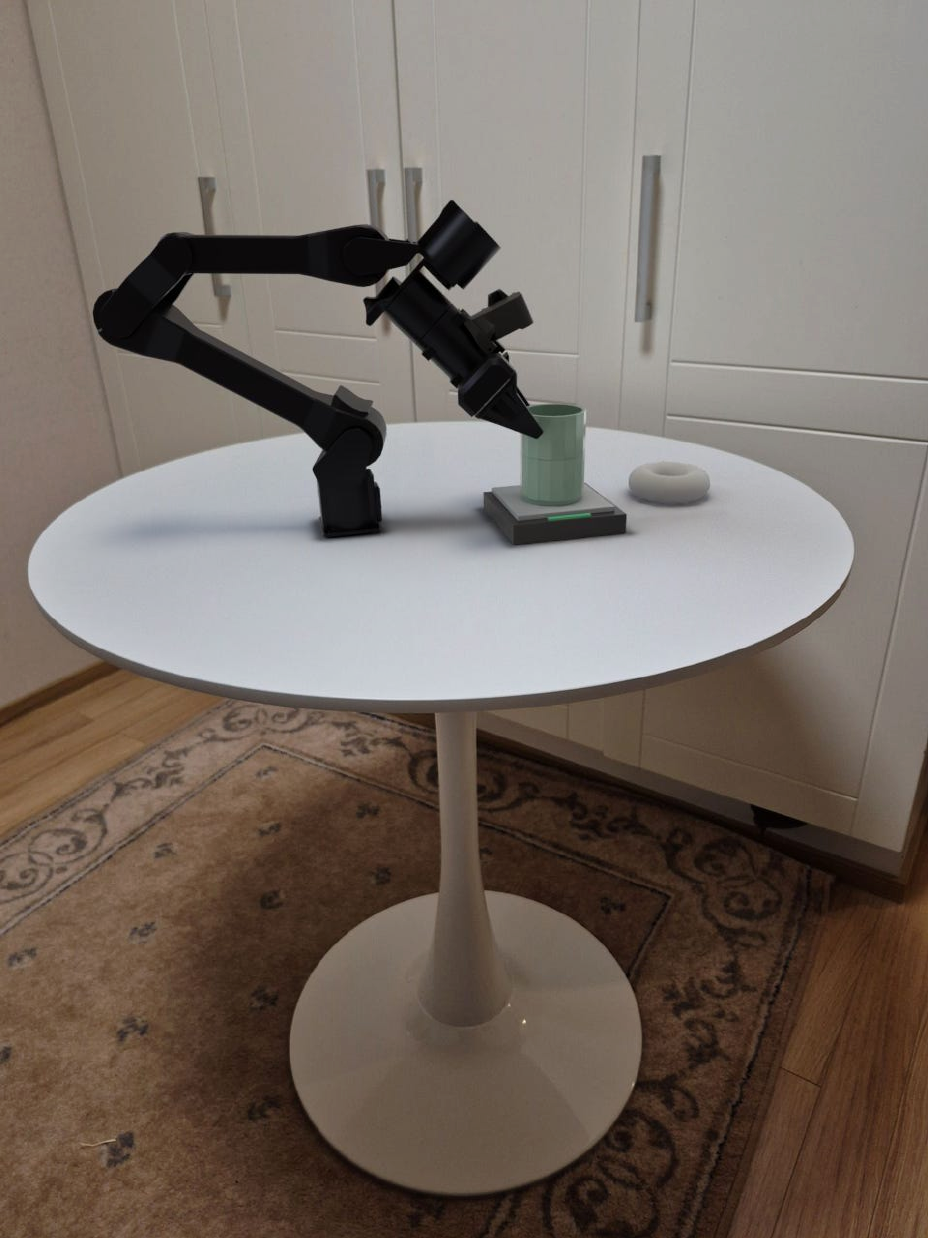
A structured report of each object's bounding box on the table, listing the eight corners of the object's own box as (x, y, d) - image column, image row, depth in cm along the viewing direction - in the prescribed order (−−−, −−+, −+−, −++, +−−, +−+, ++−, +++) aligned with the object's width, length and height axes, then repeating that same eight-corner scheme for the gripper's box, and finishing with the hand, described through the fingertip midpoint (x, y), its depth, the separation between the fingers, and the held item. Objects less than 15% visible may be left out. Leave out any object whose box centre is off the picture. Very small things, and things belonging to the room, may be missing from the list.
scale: (513, 545, 93) (513, 520, 92) (483, 509, 104) (483, 487, 103) (625, 532, 95) (627, 508, 94) (584, 499, 107) (585, 477, 106)
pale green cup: (559, 510, 94) (561, 419, 90) (508, 499, 98) (507, 411, 94) (594, 495, 99) (598, 407, 95) (544, 485, 103) (546, 400, 99)
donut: (699, 484, 112) (622, 483, 112) (702, 458, 110) (624, 457, 111) (717, 507, 103) (633, 507, 103) (720, 479, 101) (635, 479, 102)
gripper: (491, 269, 80) (604, 387, 84) (483, 259, 96) (577, 359, 101) (410, 359, 83) (523, 468, 88) (416, 334, 100) (511, 427, 104)
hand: (536, 426), depth 95 cm, fingers open, 9 cm apart
